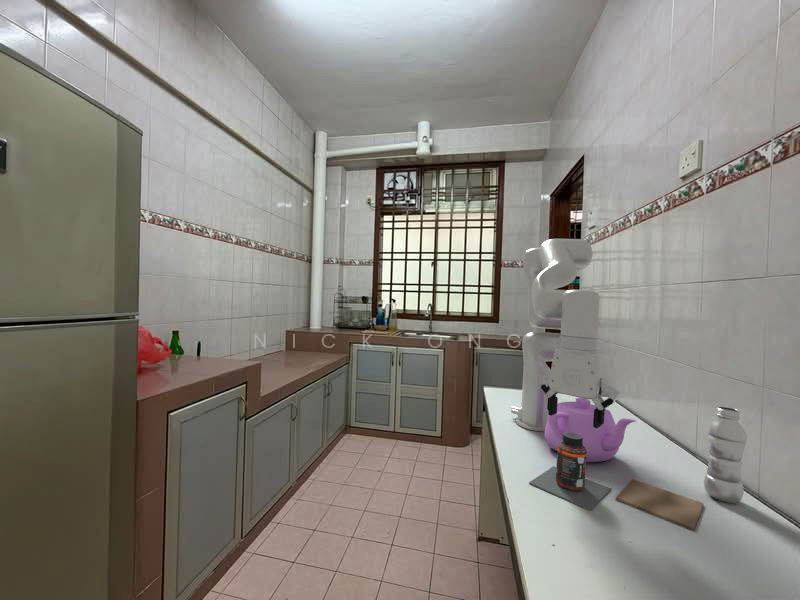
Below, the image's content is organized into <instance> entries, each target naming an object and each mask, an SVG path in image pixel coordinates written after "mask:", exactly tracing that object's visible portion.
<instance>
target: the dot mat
mask: <svg viewBox="0 0 800 600" xmlns="http://www.w3.org/2000/svg"><path fill="white" fill-rule="evenodd" d="M556 467H557V466H554V465H553V466H552V467H550V468H549V469H547V470H546V471H544V472H542V473H541V474H540V475H538V476H536V477H534V479H532V480H530V481H529V482H528V484H529V485H531V486H533V487H536V488H538V489H540V490H542V491H544V492H547V493H549V494H551V495H554V496H556V497H558V498H560V499H562V500H565V501H567V502H569V503H572V504H574V505H577V506H578V507H581V508H584V509H586V510H588V511H592V510H593V509H594V508H595V507H596V506H597V505H598V503H600V501H602V499H603V498H604V497H606V495H608V493H610V492H611V490H612V488H611V487H609V486H606V485H603V484H601V483H598V482H595V481H593V480H591V479H588V478H586V477H585V487H584V489H583V490H581V491H573V490H569V489H566V488H563V487H562V486H560V485H559V484H558V483H557V482H556Z"/></svg>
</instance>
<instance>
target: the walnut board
mask: <svg viewBox="0 0 800 600" xmlns="http://www.w3.org/2000/svg"><path fill="white" fill-rule="evenodd" d="M618 500H619V501H618ZM615 501H618V502H620V501H621V503H623V502H624V503H623V504H625V503H626V505H628V504H629V505H628V506H630V505H631V506H630V507H634V508H635V507H636V509H638V510H640V509H641V510H640V511H643V512H645V511H646V512H645V513H648V514H650V515H652V516H656V517H658V518H660V519H663V520H666V521H668V522H670V521H671V522H670V523H673V522H674V523H673V524H675V523H676V524H675V525H678V526H680V525H681V526H680V527H683V528H685V527H686V529H687V530H690V529H691V530H690V531H693V530H694V531H695V529H696V526H697V523H698V521H699V519H700V516H701V513H702V510H703V508H704V502H700V501H698V500H694V499H692V498H688V497H686V496H684V495H680V494H677V493H674V492H671V491H670V490H666V489H664V488H660V487H657V486H654V485H652V484H650V483H646V482H644V481H640V480H638V479H634V478H632V479H631V480H629V482H628V483H627V484H626V485H625V486H624V488H623V489H621V491H620V492H619V493H618V494H617V495H616V497H615Z"/></svg>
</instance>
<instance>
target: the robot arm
mask: <svg viewBox="0 0 800 600" xmlns="http://www.w3.org/2000/svg"><path fill="white" fill-rule="evenodd" d="M593 254H594V253H593V248H592V245H591V244H590V242H589V241H587V240H586V239H584V238H583V239H580V238H550V239H547V240H545V241H544V242H542V243H541V245H540V247H533V248H529V249H527V250H526V251H525V252H524V254H523V258H522V269H523V274H524V277H525V281H526V282H527V287H528V288H527V291H528V292H527V293H528V296H527V299H528V300H527V321H528V323H529V326H531V327H532V328H539V329H551V330H560V332H559V333H558V332H545V331H530V332H528V333H525V335H524V336H523V337H522V340H521V341H522V343H521V347H522V356H523V359H522V360H523V372H522V374H523V375H522V391H521V403H520V404H521V407H517V406H514V405H513V406H511V408H510V409H511V410H510V412H511V414H513V415H517V417H516V418H515V423H516V424H517V425H518V426H520V427H522V428H524V429H527V430H531V431H536V432H544V433H545V428H546V424H547V421H548V416H549V415H550V416H552V415H554V414H557V404H558V403H559V402H558V401H559V400H558V396H557V395H558V394H562V395H567V396H571V397H575V398H583V399H587V400H590V401H592V404H593V405H595V406H596V409H594V419H593V427H594V428H598V427H600V426H601V424H602V425H603V424H604V414H605V409H607V408H608V407H610V406H611V405H612V404H614V403H615V402H616V401H617V399H618V398H619V396H620V395H621V391H619V390H618V389H617V388H616V387H614V386H612V385H611V384H609V383H608V382H606V381H605V380H603V379H604V378H603V377H604V376H603V364H602V357H601V353H600V352H598V336H599V319H600V305H601V301H600V300H601V298H600V295H599V292H597V291H595V290H590V289H589V290H588V289H561V288H564V287H566V286H568V285H570V284H571V283H573V282H574V281H575V279H576V278H577V275H578V273H579V272H580V271H583V270H585V269H586V268H587V267H589V266H590V264H591V263H592V260H593ZM559 288H560V289H559ZM546 362H552V363H551V368H550V367H549V366H548V364H547V363H546ZM603 390H604V391H605V392H607V393H608V394H609V395H608V397H607V398H606V399H605V400H604V398H603V397H602V395H603Z"/></svg>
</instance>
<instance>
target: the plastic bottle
mask: <svg viewBox="0 0 800 600" xmlns="http://www.w3.org/2000/svg"><path fill="white" fill-rule="evenodd" d="M715 415H716V416H717V418H716V419H714V420H713V421H712V422H710V424H709V426H708V428H707V436H708V445H709V446H708V448H709V449H708V450H709V451H708V452H709V455H708V456H709V457H708V464H707V468H706V469H707V470H706V473H705V475H704V478H703V487H704V490H705V491H706V493H707V494H708V495H709V496H710V497H712V498H714V499H716V500H718V501H722V502H725V503H732V504H737V503H739V502H741V501H742V500H743V497H744V493H745V492H744V483H743V481H742V480H743V475H742V474H743V473H742V464H743V462H742V461H743V458H744V452H745V449H746V444H747V441H748V435H747V432H746V430H745V429H744V427H742V425H741V423H740V422H739V421H740V420H741V418H740V410H738V409H736V408H732V407H729V406H728V407H726V406H717V407H716V413H715Z"/></svg>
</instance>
